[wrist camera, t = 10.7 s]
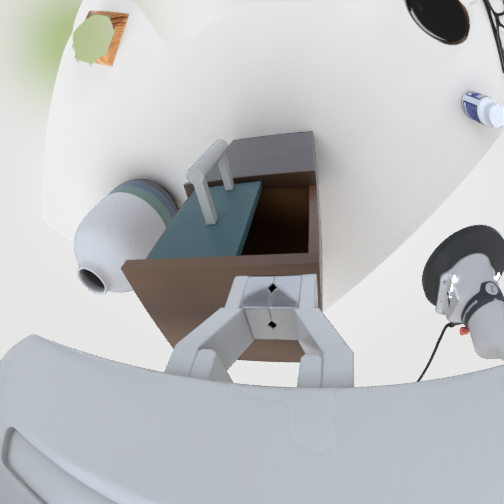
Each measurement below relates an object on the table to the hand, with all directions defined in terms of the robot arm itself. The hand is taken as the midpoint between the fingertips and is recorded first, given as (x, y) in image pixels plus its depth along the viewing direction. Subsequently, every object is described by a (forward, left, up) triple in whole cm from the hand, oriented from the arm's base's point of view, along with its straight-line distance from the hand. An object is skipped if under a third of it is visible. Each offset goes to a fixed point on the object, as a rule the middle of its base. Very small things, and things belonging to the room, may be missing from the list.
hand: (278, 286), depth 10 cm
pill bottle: (+1, -32, -40) cm, 51 cm away
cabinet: (-10, +6, -40) cm, 41 cm away
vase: (-16, +35, -40) cm, 55 cm away
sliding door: (-1, +8, -18) cm, 19 cm away
